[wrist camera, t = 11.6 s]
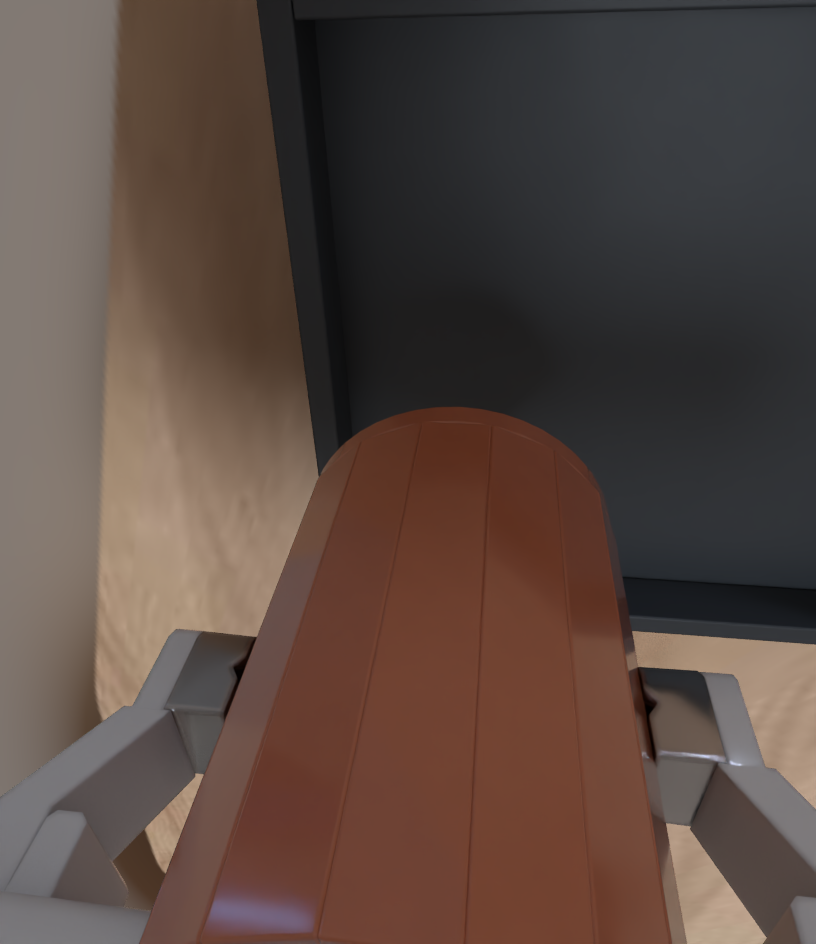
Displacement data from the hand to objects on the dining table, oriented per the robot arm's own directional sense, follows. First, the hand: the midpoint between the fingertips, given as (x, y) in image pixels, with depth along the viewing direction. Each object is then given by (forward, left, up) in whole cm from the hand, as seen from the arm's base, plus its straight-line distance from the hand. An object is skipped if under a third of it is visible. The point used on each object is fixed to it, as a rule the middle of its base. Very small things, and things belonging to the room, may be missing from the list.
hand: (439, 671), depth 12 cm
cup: (0, 0, -4) cm, 4 cm away
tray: (+5, 0, -12) cm, 13 cm away
